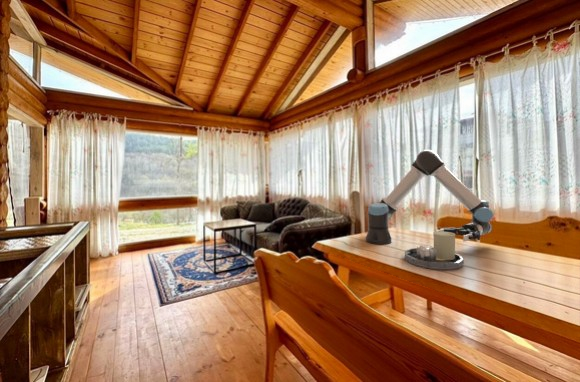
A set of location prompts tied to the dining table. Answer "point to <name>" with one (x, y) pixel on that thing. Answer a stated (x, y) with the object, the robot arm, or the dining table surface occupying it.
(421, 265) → the carrier plate
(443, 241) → the can
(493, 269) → the dining table surface
